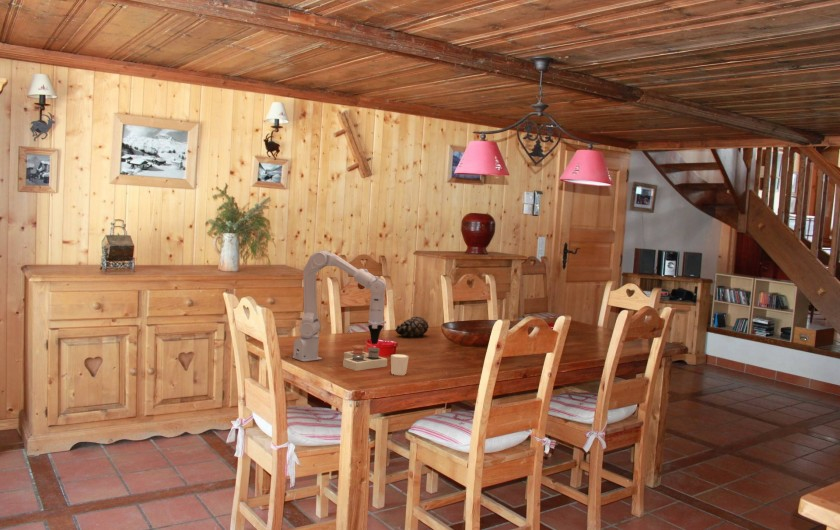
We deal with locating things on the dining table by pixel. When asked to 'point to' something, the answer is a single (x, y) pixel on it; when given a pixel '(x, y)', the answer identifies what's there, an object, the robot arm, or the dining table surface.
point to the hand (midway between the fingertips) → (374, 343)
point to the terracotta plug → (358, 349)
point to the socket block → (363, 362)
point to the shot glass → (399, 364)
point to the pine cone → (413, 328)
